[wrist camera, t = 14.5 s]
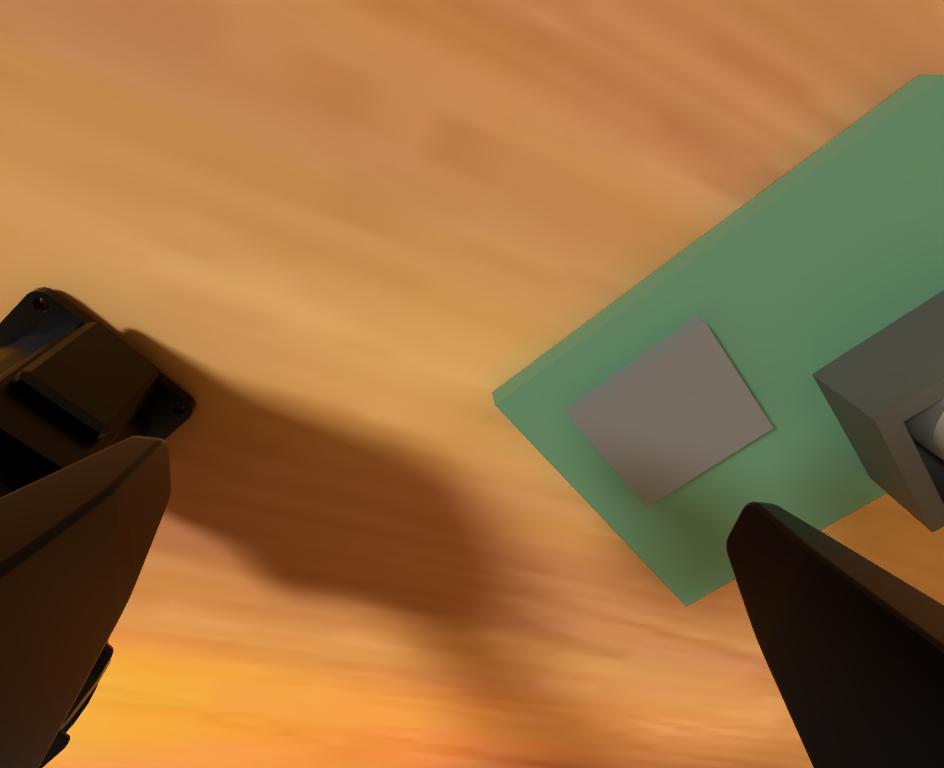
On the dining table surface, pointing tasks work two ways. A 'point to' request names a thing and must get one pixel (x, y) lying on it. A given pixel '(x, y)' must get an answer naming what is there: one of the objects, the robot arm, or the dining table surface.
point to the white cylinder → (929, 428)
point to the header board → (765, 358)
